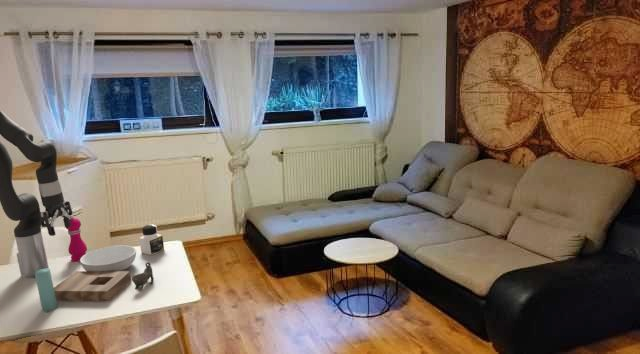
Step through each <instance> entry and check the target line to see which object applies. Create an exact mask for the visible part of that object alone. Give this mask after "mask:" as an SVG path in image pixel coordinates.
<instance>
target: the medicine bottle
mask: <svg viewBox="0 0 640 354" xmlns="http://www.w3.org/2000/svg"><path fill="white" fill-rule="evenodd" d="M163 238H164V237H163V235H162V234H159V233H158V226H157V225H156V224H147V225H144V226H143V227H142V236H141V237H140V236H139V239H138V240H139V245H140V246H139V247H140V252H141V254H145V255H149V256H153V254H154V255H156V254H157V253H159V252H162V251H164V250H165V244H164V239H163Z"/></svg>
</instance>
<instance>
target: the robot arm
mask: <svg viewBox="0 0 640 354" xmlns="http://www.w3.org/2000/svg"><path fill="white" fill-rule="evenodd" d="M0 136H1V137H2V138H3V139H4V140H6V141H7V142H9V143H10V144H12V145H13V146H15V147H16V148H17V149H18V150H19V152H21V153H22V155H23V156H24V157H25V158H26V159H27V160H29V161H30V162H33V163H40V166H39V167H38V168H36V170H35V176H36V179H37V184H38V191H39V196H40V199H41V203H42V206H43V207H44V208H45V210H44V211H41V208H40V204H39V201H38V198H37V197H36V196H35V195H33V194H32V193H30V192H25V193H21V194H17V192H16V191H15V188H14V185H13V168H14V167H13V160H12V157H11V156H10V153H9V151H8V150H7V147H6V146H5V145H4V144H3V143H2V142H1V141H0V206H1V207H2V210H3V212H4V214H5V215H6V217H7V218H8V219H10V220H11V221H14V222H18V221H19V222H18V224H17V225H16V226H15V228H14V229H13V234H14V239H15V244H16V248H17V253H16V257H17V265H18V268H19V273H20V276H21V277H22V276H23V277H25V278H36V277H35V272H36V271H38V270H40V269H45V268H48V269H50V267H49V262H48V257H47V252H46V248H45V243H44V237H43V233H42V228H46V229H47V232H48V235H49V236H50V237H51V236H52V237H53V236H56V231H55V226H54V223H55V222H56V219H57V218H59V217H62V218H63V219H62V221H63V224H64V228H69V227H71V223H70V216H71V215H73V214H74V213H73V210H72V207H71V203H70V201H65V198H64V194H63V190H62V186H61V182H60V180H59V177H58V172H57V160H58V158H57V157H58V154H57V153H58V152H57V149H56V147H55V145H54V144H53V142H51V141H48V140H43V141H39V142H35V143H34V136H33V134H32V133H30V132H29V131H28V130H26V129H25V128H24V127H22V126H21V125H19V124H17V123H16V122H15V121H13V120H12V119H11V118H9V116H8V115H6V114H5V113H4V112H3V111H2V110H1V109H0Z"/></svg>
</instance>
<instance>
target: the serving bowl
mask: <svg viewBox="0 0 640 354" xmlns="http://www.w3.org/2000/svg"><path fill="white" fill-rule="evenodd" d="M86 253H87V254H85V255H84V256H82V257H81V259H80V261H79V262H80V265H81V267H82V268H83V269H84V271H124V270H125V269H128V268H129V267H130V266H131V265H132V264H133V263H134V261H135V259H136V255H137V249H136V248H135V247H133V246H130V245H125V244H124V245H122V244H121V245H116V244H115V245H108V246H104V247H101V248H97V249H93V250H90V251H88V252H86Z"/></svg>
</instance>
